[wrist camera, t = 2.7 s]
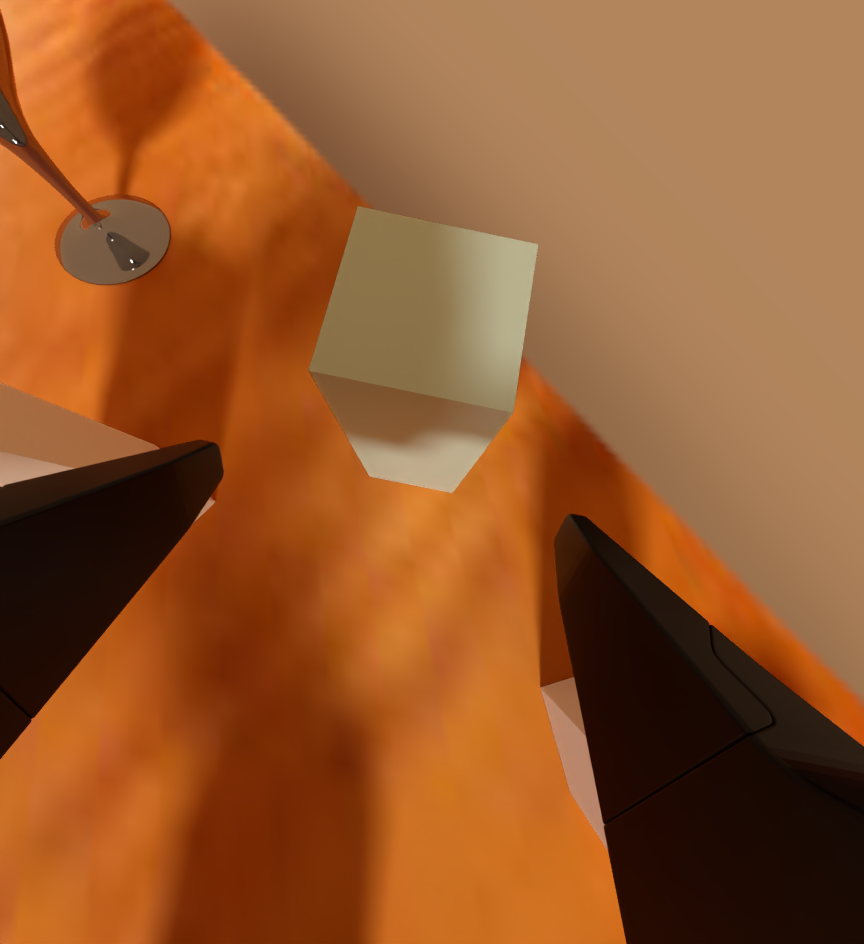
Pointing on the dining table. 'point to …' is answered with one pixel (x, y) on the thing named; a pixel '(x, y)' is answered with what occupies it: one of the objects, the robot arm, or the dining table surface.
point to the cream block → (56, 439)
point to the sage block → (423, 344)
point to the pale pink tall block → (574, 748)
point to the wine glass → (85, 204)
